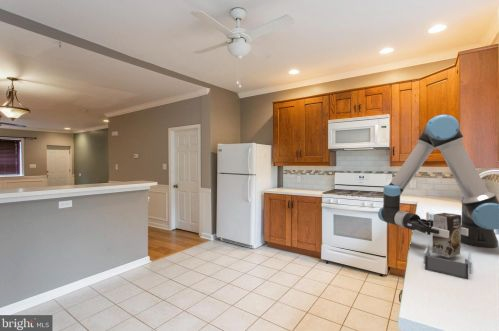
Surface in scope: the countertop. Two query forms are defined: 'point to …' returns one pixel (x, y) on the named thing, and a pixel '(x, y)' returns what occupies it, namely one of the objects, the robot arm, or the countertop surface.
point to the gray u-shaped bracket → (447, 265)
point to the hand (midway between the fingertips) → (458, 233)
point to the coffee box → (453, 225)
